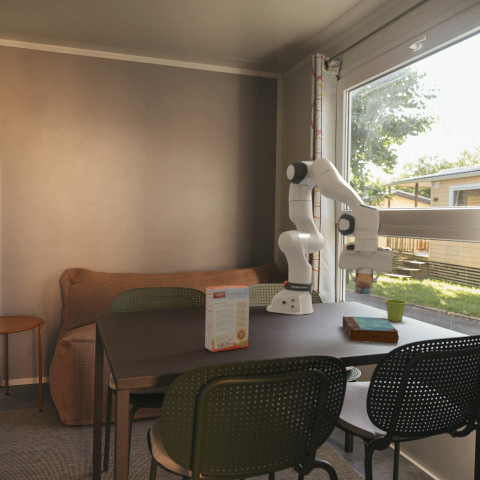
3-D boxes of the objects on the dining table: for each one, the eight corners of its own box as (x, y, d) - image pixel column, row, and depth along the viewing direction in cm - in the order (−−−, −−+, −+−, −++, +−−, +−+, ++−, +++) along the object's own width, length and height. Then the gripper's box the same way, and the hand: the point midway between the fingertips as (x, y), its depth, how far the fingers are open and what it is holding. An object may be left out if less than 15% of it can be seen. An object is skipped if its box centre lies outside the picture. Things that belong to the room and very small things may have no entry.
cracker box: (239, 343, 158) (241, 284, 157) (248, 347, 153) (250, 286, 152) (203, 347, 151) (205, 285, 150) (211, 352, 146) (214, 288, 145)
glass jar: (354, 293, 172) (356, 267, 172) (354, 290, 179) (355, 265, 178) (372, 294, 171) (374, 268, 170) (371, 292, 178) (372, 266, 177)
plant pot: (407, 323, 200) (408, 303, 200) (385, 321, 202) (386, 302, 202) (404, 318, 209) (405, 300, 209) (382, 317, 211) (383, 298, 211)
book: (342, 327, 189) (342, 315, 189) (385, 330, 188) (385, 318, 188) (349, 342, 167) (350, 328, 167) (398, 345, 165) (399, 331, 165)
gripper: (393, 247, 175) (390, 282, 176) (339, 244, 179) (337, 279, 180) (395, 248, 169) (393, 285, 170) (339, 245, 173) (337, 281, 174)
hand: (363, 282), depth 175 cm, fingers closed on glass jar, 7 cm apart
